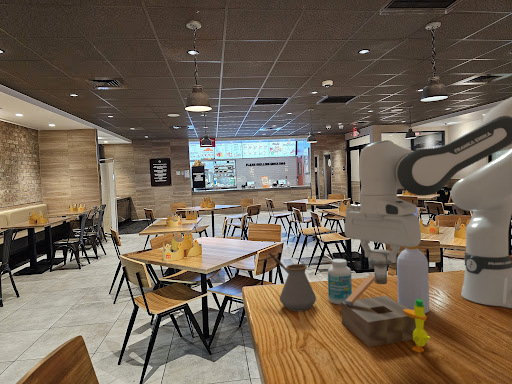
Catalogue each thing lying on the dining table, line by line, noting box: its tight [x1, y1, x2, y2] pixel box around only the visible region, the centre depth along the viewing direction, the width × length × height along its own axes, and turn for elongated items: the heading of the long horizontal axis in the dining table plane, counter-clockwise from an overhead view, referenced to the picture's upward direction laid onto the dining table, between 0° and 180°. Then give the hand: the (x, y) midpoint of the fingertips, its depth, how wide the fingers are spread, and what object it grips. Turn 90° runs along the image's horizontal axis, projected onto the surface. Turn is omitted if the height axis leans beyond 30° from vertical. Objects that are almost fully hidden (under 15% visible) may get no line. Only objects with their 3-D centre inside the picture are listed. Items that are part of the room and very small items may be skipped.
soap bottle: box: [396, 245, 430, 314], centre depth 102 cm, size 9×9×24 cm
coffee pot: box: [266, 252, 317, 312], centre depth 113 cm, size 21×12×15 cm, turn 32°
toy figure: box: [403, 299, 431, 354], centre depth 79 cm, size 7×4×12 cm, turn 32°
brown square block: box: [340, 295, 416, 347], centre depth 90 cm, size 14×14×6 cm
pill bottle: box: [327, 258, 353, 306], centre depth 111 cm, size 8×7×14 cm
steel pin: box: [369, 248, 392, 285], centre depth 88 cm, size 5×5×8 cm
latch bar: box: [344, 273, 375, 307], centre depth 93 cm, size 11×3×1 cm
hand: (380, 259), depth 88 cm, fingers closed on steel pin, 5 cm apart
